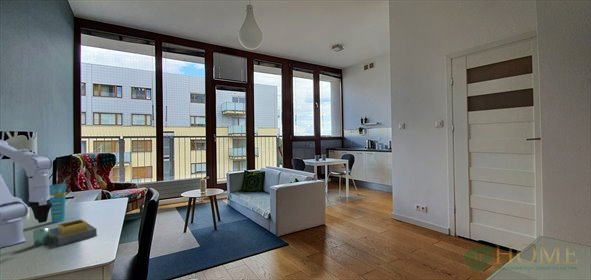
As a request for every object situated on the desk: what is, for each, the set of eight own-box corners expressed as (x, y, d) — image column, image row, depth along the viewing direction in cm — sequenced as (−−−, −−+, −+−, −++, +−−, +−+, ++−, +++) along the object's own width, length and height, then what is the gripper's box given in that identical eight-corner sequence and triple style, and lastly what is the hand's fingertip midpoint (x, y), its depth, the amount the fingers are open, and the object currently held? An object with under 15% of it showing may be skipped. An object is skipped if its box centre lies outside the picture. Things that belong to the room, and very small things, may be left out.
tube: (47, 223, 126) (45, 185, 126) (50, 221, 130) (48, 184, 130) (67, 220, 130) (65, 183, 130) (69, 218, 134) (67, 182, 134)
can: (35, 247, 97) (34, 232, 97) (33, 244, 100) (32, 229, 100) (50, 243, 101) (49, 228, 101) (48, 240, 104) (47, 226, 104)
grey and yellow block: (58, 246, 98) (58, 232, 98) (49, 236, 109) (49, 223, 109) (96, 235, 107) (96, 223, 107) (84, 227, 118) (84, 216, 118)
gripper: (56, 186, 99) (58, 220, 99) (49, 183, 108) (51, 215, 108) (31, 190, 93) (32, 226, 94) (25, 186, 102) (27, 219, 102)
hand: (40, 220), depth 100 cm, fingers open, 7 cm apart
